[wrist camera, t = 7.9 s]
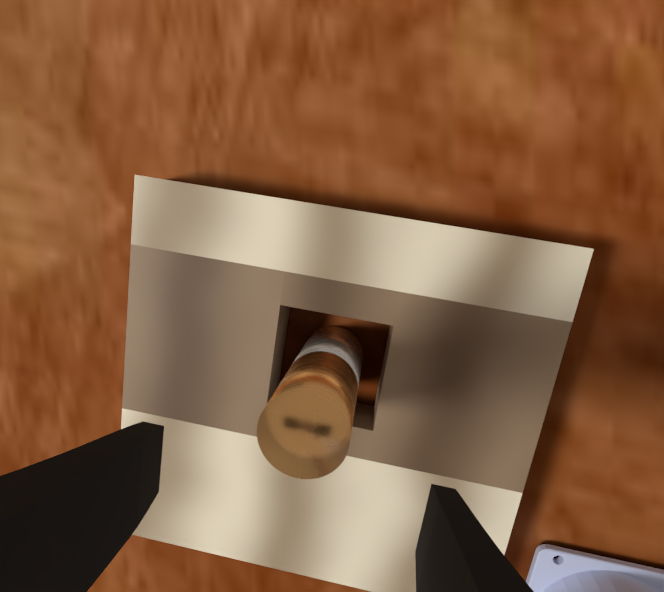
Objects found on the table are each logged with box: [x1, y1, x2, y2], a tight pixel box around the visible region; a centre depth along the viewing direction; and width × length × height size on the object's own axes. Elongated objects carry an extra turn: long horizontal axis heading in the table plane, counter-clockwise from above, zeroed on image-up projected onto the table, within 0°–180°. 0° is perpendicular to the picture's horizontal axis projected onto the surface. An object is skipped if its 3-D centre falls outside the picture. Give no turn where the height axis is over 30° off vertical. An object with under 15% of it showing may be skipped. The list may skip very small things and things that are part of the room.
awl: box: [257, 326, 363, 479], centre depth 17 cm, size 3×3×8 cm
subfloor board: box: [121, 175, 594, 592], centre depth 20 cm, size 19×18×2 cm
